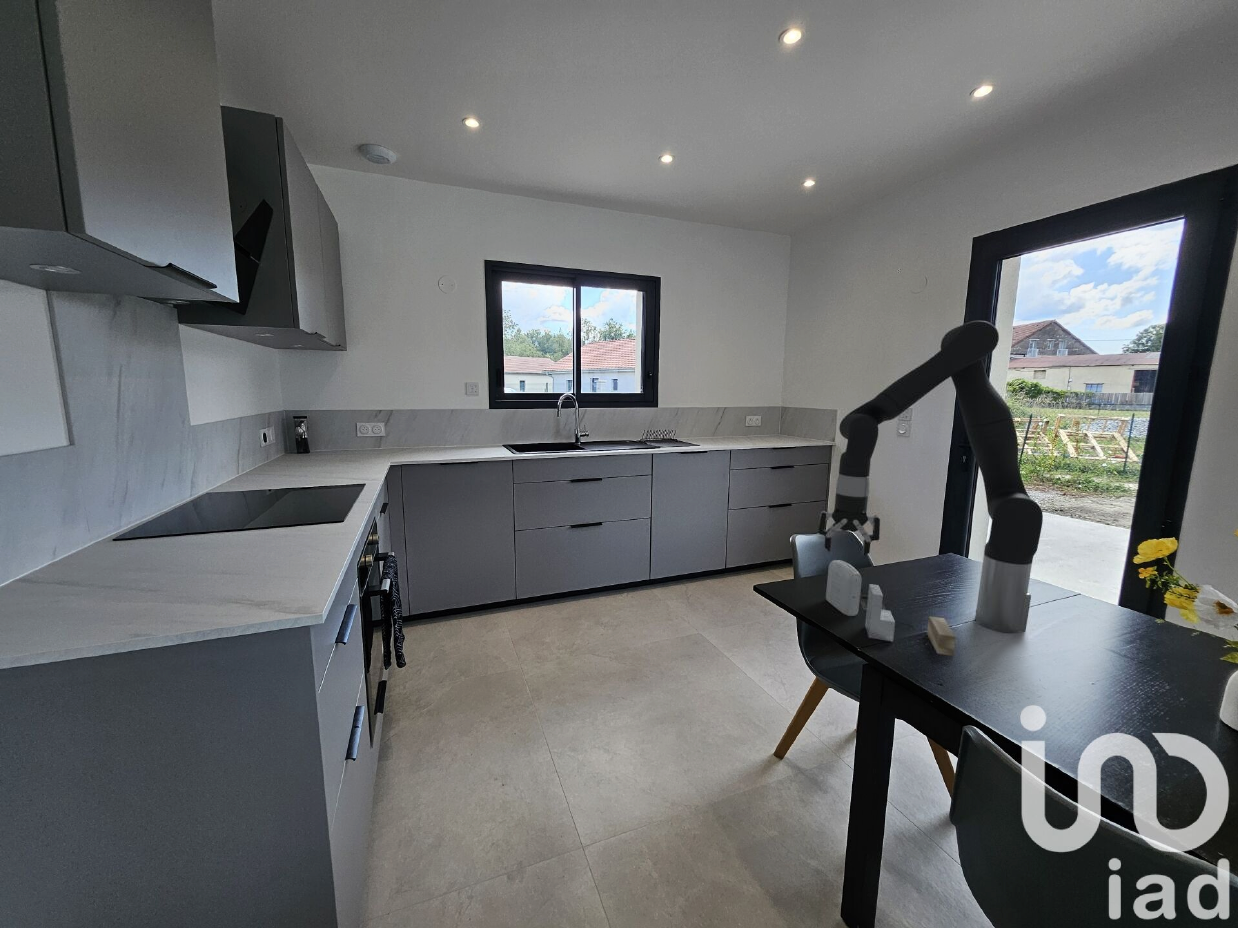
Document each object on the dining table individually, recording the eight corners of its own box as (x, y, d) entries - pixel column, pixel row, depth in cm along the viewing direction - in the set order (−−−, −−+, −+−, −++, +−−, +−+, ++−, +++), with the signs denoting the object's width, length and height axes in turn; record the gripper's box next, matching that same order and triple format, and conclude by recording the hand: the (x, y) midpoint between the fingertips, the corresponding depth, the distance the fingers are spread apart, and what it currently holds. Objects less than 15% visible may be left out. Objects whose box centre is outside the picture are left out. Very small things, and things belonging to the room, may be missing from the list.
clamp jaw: (888, 629, 116) (892, 587, 115) (892, 641, 111) (897, 597, 109) (865, 625, 118) (869, 583, 116) (868, 637, 113) (873, 593, 111)
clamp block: (941, 636, 114) (943, 618, 113) (953, 655, 106) (955, 636, 105) (926, 633, 115) (929, 616, 114) (937, 653, 107) (939, 634, 106)
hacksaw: (852, 588, 142) (852, 583, 141) (891, 592, 139) (891, 588, 139) (869, 627, 119) (870, 622, 119) (917, 633, 116) (917, 628, 116)
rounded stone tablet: (860, 616, 124) (865, 570, 122) (845, 617, 123) (849, 571, 121) (837, 598, 134) (841, 556, 132) (823, 599, 133) (826, 556, 131)
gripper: (880, 491, 125) (874, 551, 127) (821, 486, 129) (816, 544, 132) (885, 497, 118) (878, 561, 120) (822, 492, 122) (817, 553, 125)
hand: (846, 552), depth 126 cm, fingers open, 8 cm apart
